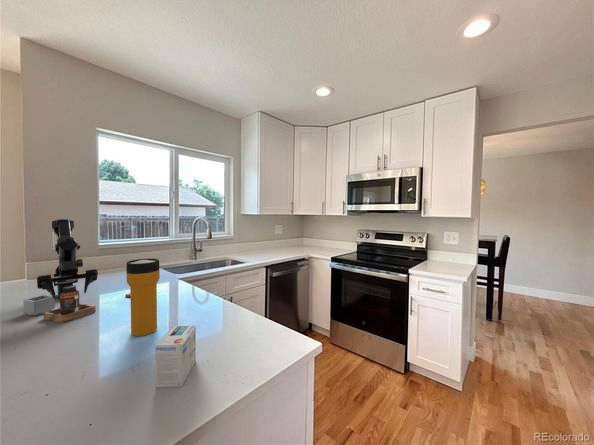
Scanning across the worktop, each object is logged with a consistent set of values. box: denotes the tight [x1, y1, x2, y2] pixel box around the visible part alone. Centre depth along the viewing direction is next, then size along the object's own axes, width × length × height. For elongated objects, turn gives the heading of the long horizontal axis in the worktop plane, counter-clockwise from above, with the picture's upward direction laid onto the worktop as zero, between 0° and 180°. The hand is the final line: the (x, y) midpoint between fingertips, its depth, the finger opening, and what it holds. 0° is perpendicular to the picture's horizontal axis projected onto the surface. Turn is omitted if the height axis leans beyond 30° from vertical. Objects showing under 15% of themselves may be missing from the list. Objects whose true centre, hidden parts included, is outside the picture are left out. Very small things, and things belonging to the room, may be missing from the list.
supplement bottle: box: [59, 284, 81, 315], centre depth 102 cm, size 6×6×11 cm
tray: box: [43, 302, 96, 324], centre depth 102 cm, size 12×12×2 cm
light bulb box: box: [154, 325, 197, 388], centre depth 66 cm, size 11×7×11 cm, turn 5°
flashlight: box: [125, 258, 161, 337], centre depth 89 cm, size 10×26×10 cm
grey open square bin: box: [23, 294, 56, 316], centre depth 105 cm, size 7×7×6 cm
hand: (70, 295), depth 101 cm, fingers open, 9 cm apart
